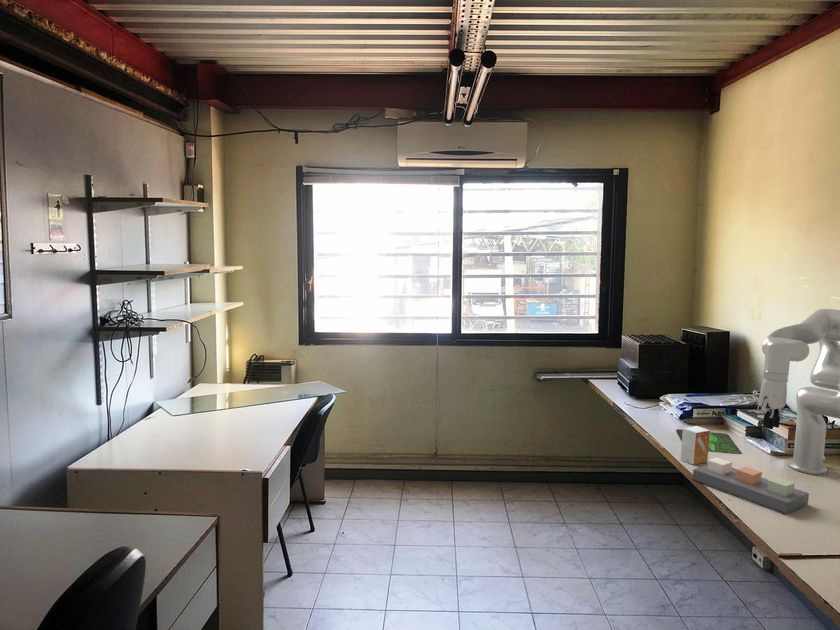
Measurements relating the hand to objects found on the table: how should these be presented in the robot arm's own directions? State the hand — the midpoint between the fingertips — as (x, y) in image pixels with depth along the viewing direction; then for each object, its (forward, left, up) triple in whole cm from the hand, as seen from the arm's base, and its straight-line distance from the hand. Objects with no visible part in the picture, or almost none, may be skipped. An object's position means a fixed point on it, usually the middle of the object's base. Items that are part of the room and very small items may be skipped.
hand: (771, 426), depth 207 cm
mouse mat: (-26, -38, -22) cm, 51 cm away
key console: (+12, 0, -21) cm, 24 cm away
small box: (+1, -27, -21) cm, 34 cm away
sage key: (+12, +11, -19) cm, 25 cm away
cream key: (+12, -10, -19) cm, 25 cm away
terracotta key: (+12, 0, -19) cm, 22 cm away
